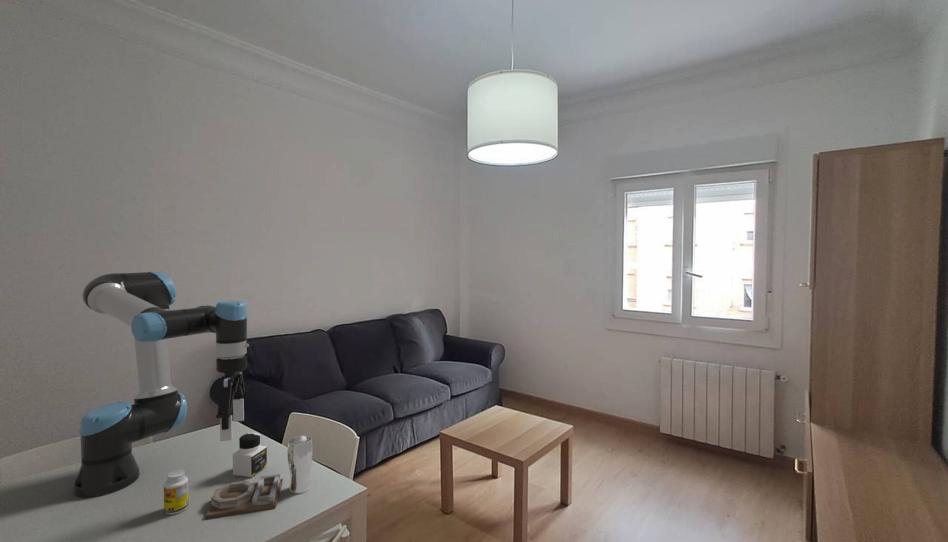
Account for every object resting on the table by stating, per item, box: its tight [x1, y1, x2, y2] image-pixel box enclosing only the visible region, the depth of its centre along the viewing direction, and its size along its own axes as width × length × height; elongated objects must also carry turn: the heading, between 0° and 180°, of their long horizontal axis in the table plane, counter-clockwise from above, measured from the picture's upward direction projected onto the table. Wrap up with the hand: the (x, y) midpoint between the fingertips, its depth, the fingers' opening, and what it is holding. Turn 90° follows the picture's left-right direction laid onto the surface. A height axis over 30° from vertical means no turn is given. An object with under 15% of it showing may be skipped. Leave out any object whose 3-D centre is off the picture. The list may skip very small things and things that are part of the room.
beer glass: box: [287, 434, 313, 495], centre depth 126 cm, size 7×7×15 cm
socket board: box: [205, 473, 284, 520], centre depth 120 cm, size 14×17×3 cm
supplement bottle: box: [163, 469, 190, 516], centre depth 115 cm, size 6×6×10 cm
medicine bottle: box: [232, 432, 268, 478], centre depth 136 cm, size 7×7×12 cm
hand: (232, 430), depth 119 cm, fingers open, 13 cm apart
